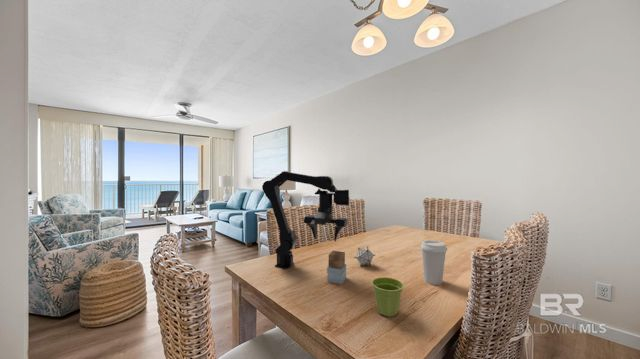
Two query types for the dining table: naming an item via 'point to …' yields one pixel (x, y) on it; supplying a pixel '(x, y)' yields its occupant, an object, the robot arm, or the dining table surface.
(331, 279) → the slab bottom
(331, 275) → the slab middle
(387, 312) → the plant pot
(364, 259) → the game die
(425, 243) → the coffee cup
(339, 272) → the slab top
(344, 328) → the dining table surface
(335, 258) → the walnut cube
